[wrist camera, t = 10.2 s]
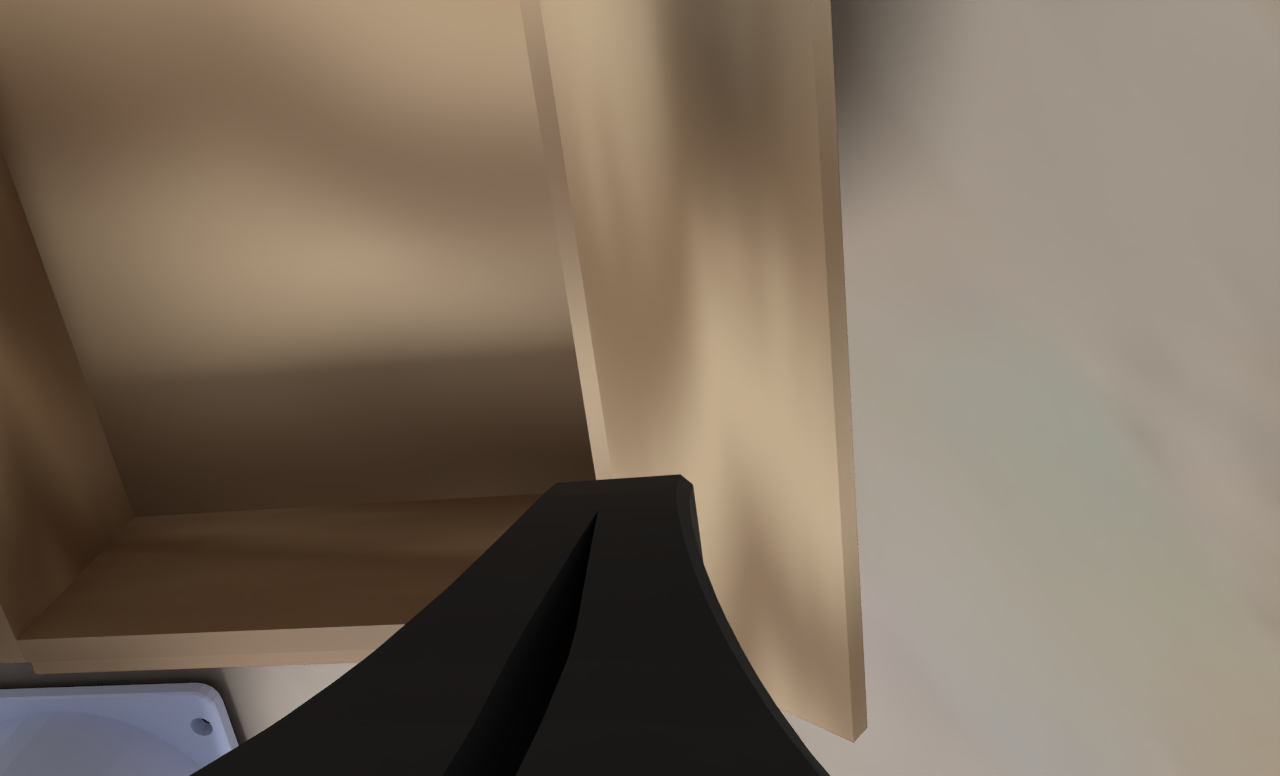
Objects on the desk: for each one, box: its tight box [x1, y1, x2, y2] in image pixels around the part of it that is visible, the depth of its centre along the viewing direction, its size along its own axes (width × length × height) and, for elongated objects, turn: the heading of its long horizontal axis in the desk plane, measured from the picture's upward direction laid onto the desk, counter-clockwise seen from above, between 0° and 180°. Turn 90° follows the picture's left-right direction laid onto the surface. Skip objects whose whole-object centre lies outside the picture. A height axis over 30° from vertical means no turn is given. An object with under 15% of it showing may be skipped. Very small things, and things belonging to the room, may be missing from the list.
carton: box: [0, 0, 613, 674], centre depth 18 cm, size 17×12×4 cm
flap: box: [540, 0, 867, 743], centre depth 14 cm, size 15×1×4 cm
